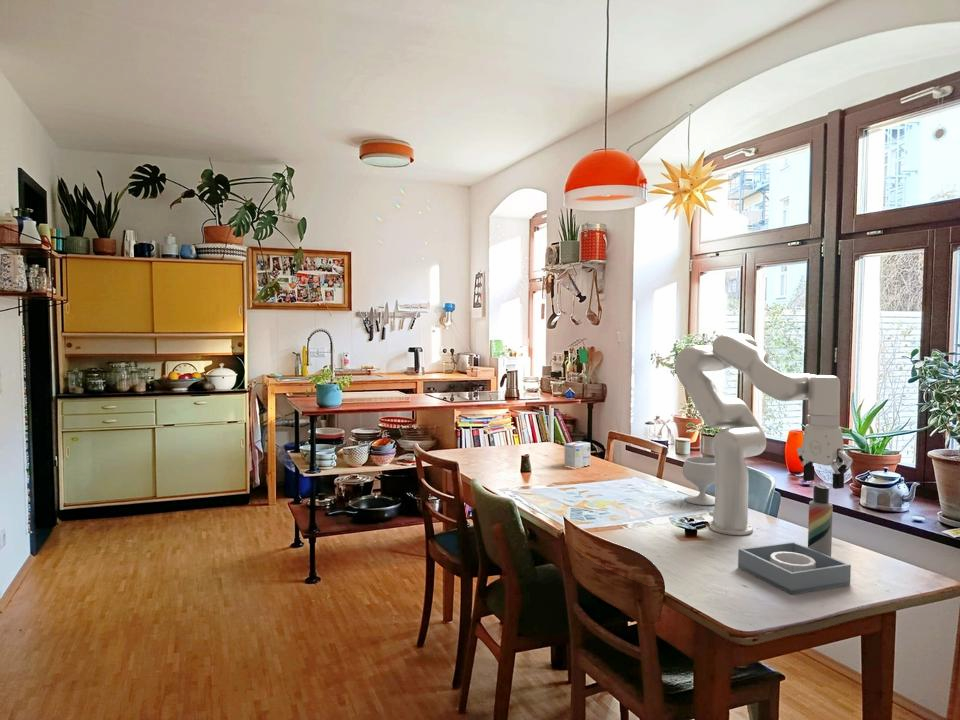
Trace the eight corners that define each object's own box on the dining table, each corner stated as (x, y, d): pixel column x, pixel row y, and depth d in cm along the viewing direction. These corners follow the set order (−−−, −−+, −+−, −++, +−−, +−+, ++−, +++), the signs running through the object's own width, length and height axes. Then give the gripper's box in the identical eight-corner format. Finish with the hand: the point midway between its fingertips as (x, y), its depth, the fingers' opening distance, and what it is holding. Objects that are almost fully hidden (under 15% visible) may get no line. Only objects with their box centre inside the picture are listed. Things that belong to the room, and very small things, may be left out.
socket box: (738, 567, 169) (738, 548, 169) (793, 559, 175) (793, 541, 175) (791, 594, 152) (791, 573, 152) (850, 585, 158) (850, 564, 158)
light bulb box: (579, 464, 297) (579, 440, 296) (591, 466, 292) (591, 442, 291) (563, 467, 290) (563, 443, 289) (574, 469, 285) (575, 445, 284)
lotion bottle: (810, 552, 180) (812, 481, 179) (833, 557, 177) (835, 484, 176) (805, 558, 176) (807, 485, 175) (828, 563, 172) (830, 488, 171)
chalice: (707, 509, 223) (708, 466, 223) (673, 500, 235) (674, 459, 234) (731, 502, 232) (731, 461, 231) (697, 494, 243) (698, 454, 242)
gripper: (787, 418, 181) (787, 478, 182) (840, 426, 165) (839, 492, 166) (809, 416, 184) (808, 476, 184) (862, 424, 167) (861, 490, 168)
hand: (823, 484), depth 175 cm, fingers open, 9 cm apart
